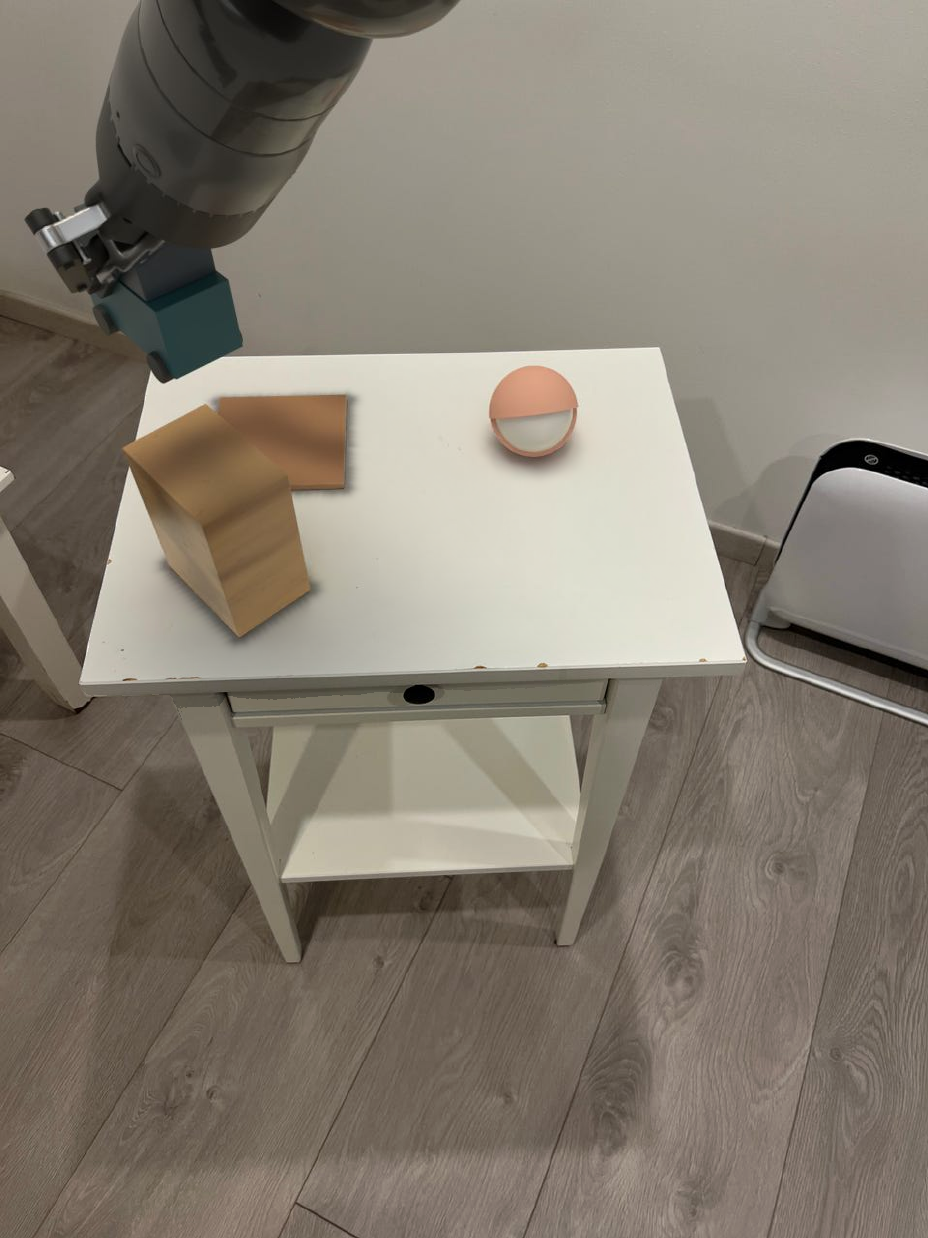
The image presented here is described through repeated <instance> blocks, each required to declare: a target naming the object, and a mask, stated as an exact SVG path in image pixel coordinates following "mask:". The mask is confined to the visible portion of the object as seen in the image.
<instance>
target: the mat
mask: <svg viewBox="0 0 928 1238" xmlns="http://www.w3.org/2000/svg"><path fill="white" fill-rule="evenodd" d="M347 403H348V397H347V394H312V395H311V394H310V395H309V394H307V395H270V396H269V395H264V396H263V395H261V396H224V397H222V396H221V397H220V398H219V404H218V410H217V414H218V415H219V416H220V417H222V418H223V419H224V420H225V421H226V422H227V423H229V424H230V425H231V426H232V427H233V428H234V429H235V430H237V431H238V432H239V433H240V434H241V435H242V436H244V437H245V438H246V439H247V440H248V441H249V442H250V443H252V444H253V445H254V446H255V447H256V448H257V449H259V450H260V451H261V452H262V453H263V454H264V455H265V456H267V457H268V458H269V459H270V460H271V461H272V462H274V463H275V464H276V465H277V466H278V467H279V468H281V469H282V470H283V471H284V472H285V473H286V474H287V475H288V479H289V484H290V489H291V491H297V490H298V491H299V490H300V491H301V490H335V489H345V474H346V442H347V441H346V440H347V439H346V438H347V408H348V407H347V406H348V404H347Z"/></svg>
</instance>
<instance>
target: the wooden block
mask: <svg viewBox="0 0 928 1238" xmlns="http://www.w3.org/2000/svg"><path fill="white" fill-rule="evenodd" d="M122 452H123V454H124V457H125V459H126V462H127V465H128V467H129V469H130V472H131V474H132V477H133V479H134V482H135V484H136V487H137V489H138V492H139V494H140V497H141V499H142V502H143V505H144V507H145V509H146V511H147V515H148V517H149V520H150V522H151V524H152V527H153V529H154V532H155V534H156V536H157V539H158V541H159V544H160V547H161V550H162V552H163V554H164V557H165V560H166V562H167V564H168V566H169V567H170V568H171V569H172V570H173V572H175V573H176V574H177V575H178V576H179V577H180V578H181V579H182V580H183V582H185V584H187V586H188V587H189V588H190V589H191V590H192V591H193V592H194V593H195V594H196V595H197V596H198V597H199V598H200V599H201V600H202V601H203V602H204V603H205V604H206V605H207V606H208V607H209V609H211V611H213V612H214V614H216V616H217V617H218V618H219V619H220V620H221V621H222V622H223V623H224V624H225V625H226V626H227V627H228V628H229V629H230V630H231V631H232V633H234V634H235V635H236V637H238V638H241V637H243V636H245V635H246V634H248V633H249V632H251V631H252V630H253V629H255V628H256V627H258V626H259V625H261V624H262V623H264V622H265V621H267V620H269V618H271V617H272V616H274V615H275V614H277V613H279V612H280V611H282V610H283V609H284V608H286V607H288V606H289V605H290V604H292V603H293V602H295V601H296V600H298V599H299V598H301V597H303V596H304V595H305V594H306V593H308V592H310V591H311V584H310V579H309V574H308V570H307V564H306V559H305V555H304V550H303V544H302V540H301V534H300V530H299V529H300V528H299V525H298V520H297V519H298V518H297V515H296V509H295V504H294V500H293V494H292V490H291V489H290V484H289V479H288V475H287V474H286V473H285V472H284V471H283V470H282V469H281V468H279V467H278V466H277V465H276V464H275V463H274V462H272V461H271V460H270V459H269V458H268V457H267V456H265V455H264V454H263V453H262V452H261V451H260V450H259V449H257V448H256V447H255V446H254V445H253V444H252V443H250V442H249V441H248V440H247V439H246V438H245V437H244V436H242V435H241V434H240V433H239V432H238V431H237V430H235V429H234V428H233V427H232V426H231V425H230V424H229V423H227V422H226V421H225V420H224V419H223V418H222V417H220V416H219V415H218V412H216V411H215V410H213V409H212V408H211V407H210V406H209V405H208V404H206V403H204V404H202V405H200V406H199V407H197V408H195V409H193V410H191V411H189V412H187V413H185V414H183V415H180V417H177V418H176V419H174V420H172V421H170V422H168V423H166V424H164V425H163V426H160V427H159V428H157V429H155V430H153V431H151V432H149V433H147V434H145V435H143V436H142V437H139V438H138V439H136V440H133V442H130V443H129V444H127V445H125V446H123V447H122Z"/></svg>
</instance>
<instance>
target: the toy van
mask: <svg viewBox="0 0 928 1238" xmlns="http://www.w3.org/2000/svg"><path fill="white" fill-rule="evenodd" d="M83 209H85V205H84V203H81V204H79V205H75V206H74V207H73V211H74V214H75V213H77V212H79V211H81V210H83ZM212 251H213V250H212V249H191V248H185V247H181V246H177V245H173V246H170V247H167V248H163V249H161V250H160V251H159V252H158V253H157V254H156V255H155V256H154V257H153V258H152V259H151V260H150V261H149V262H148V263H147V264H146V265H145V266H142V267H139V268H136V269H133V270H130V271H127V272H123V273H122V276H121V278H120V280H119V281H118V283H117V285H116V287H115V289H114V291H113V293H112V295H110V296H108V297H105V298H103V299H100V298H99V297H98V296H97V295H96V293H93V294H91V295H89V296H90V299H91V301H92V304H93V307H92V314H93V317H94V319H95V322H96V323H97V324H98V327H100V329H101V331H102V332H103V333H104V334H105V335H107V336H112V335H116V334H117V333H119V332H120V333H122V334H123V335H124V336H125V337H126V338H127V339H129V340H130V341H131V342H132V343H133V344H135V346H137V347H138V348H139V349H140V350H142V352H144V353H145V354H146V356H145V358H146V363H147V365H148V368H149V370H150V371H151V373H152V375H153V377H154V378H155V379H156V380H157V381H158V382H159V383H160V384H162V385H165V384H167V383H169V382H171V381H172V380H179V379H181V378H182V377H185V376H187V375H189V374H192V373H193V372H195V371H197V370H199V369H201V368H203V367H205V366H207V365H209V364H212V363H213V362H215V361H217V360H219V359H221V358H223V357H225V356H228V355H229V354H231V353H233V352H236V351H237V350H239V349H241V348H243V347H244V344H243V343H244V338H243V335H242V332H241V330H240V327H239V321H238V317H237V313H236V307H235V302H234V297H233V293H232V288H231V285H230V280H229V278H227V277H226V276H224V275H223V274H222V273H220V272H219V271H218V270H217V268H216V264H215V261H214V256H213V252H212Z"/></svg>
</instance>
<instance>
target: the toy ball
mask: <svg viewBox="0 0 928 1238" xmlns="http://www.w3.org/2000/svg"><path fill="white" fill-rule="evenodd" d="M578 402H579V401H578V398H577V395H576V392H575V390H574V389H573V386H572V385H571V383H570V382H569V381H568V380H567V378H565V377H564V376H563V375H562V374H561V373H559V372H558V371H556V370H555V369H552V368H551V367H547V366H543V365H526V366H522V367H519V368H517V369H514V370H512V371H511V372H510V373H508V374H507V375H506V376H504V377H503V378H502V379H501V380H500V382H499V383H498V384H497V385H496V387H495V388H494V390H493V393H492V395H491V397H490V402H489V407H488V418H489V419H490V424H491V427H492V430H493V433H494V435H495V436H496V438H497V440H499V442H500V443H501V444H502V445H503V446H504V447H505V448H507V449H508V450H510V451H511V452H512V453H515V454H517V455H520V456H524V457H532V458H533V457H535V458H536V457H543V456H547V455H550V454H552V453H554V452H556V451H557V450H559V449H560V448H562V447H563V445H565V443H566V442H568V440H569V439H570V437H571V435H572V434H573V431H574V429H575V426H576V423H577V418H578V409H577V408H579V403H578Z"/></svg>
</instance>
